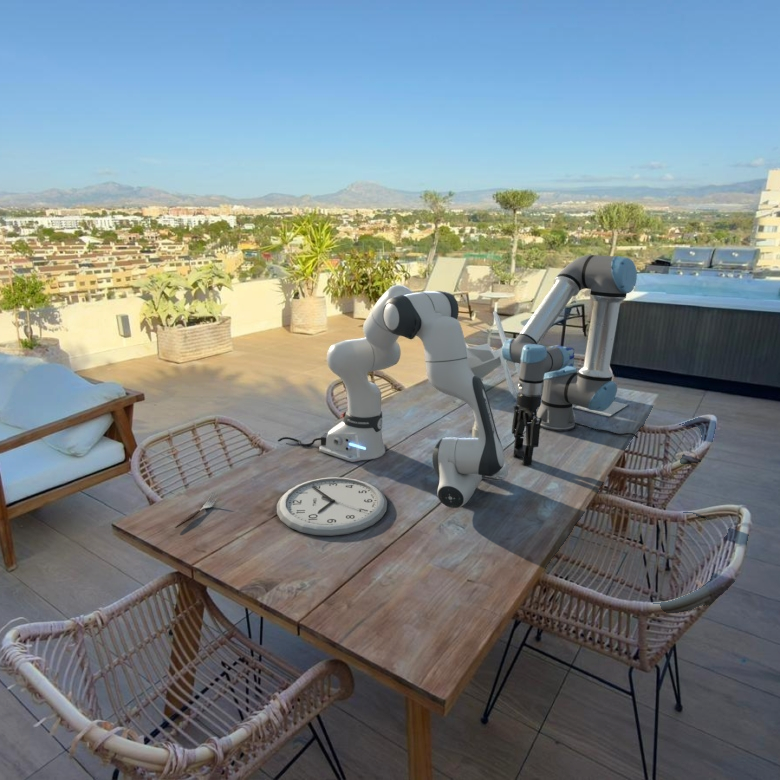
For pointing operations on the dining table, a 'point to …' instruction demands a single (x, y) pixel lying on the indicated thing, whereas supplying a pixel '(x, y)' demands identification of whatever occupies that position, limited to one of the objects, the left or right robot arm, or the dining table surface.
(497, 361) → the white plastic object
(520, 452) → the lid
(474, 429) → the white tall cylinder
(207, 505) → the fork
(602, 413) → the invitation card
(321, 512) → the wall clock
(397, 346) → the left robot arm
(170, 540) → the dining table surface
